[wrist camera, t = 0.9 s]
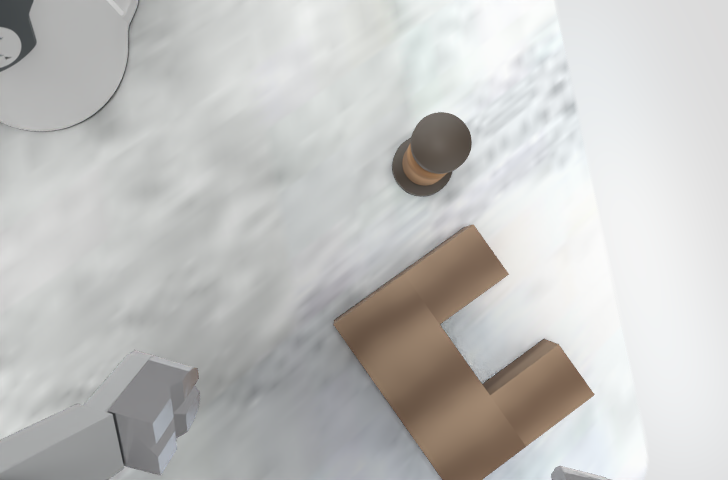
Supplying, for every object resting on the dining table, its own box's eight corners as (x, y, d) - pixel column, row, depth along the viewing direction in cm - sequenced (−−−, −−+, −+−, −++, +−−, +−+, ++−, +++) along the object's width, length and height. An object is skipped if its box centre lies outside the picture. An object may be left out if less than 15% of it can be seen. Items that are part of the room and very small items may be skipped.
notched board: (334, 320, 42) (333, 324, 39) (464, 227, 43) (473, 224, 40) (448, 482, 42) (456, 499, 39) (577, 385, 43) (594, 394, 40)
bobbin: (380, 159, 43) (390, 132, 34) (428, 126, 44) (450, 91, 35) (414, 207, 43) (433, 193, 34) (462, 174, 43) (493, 151, 34)
